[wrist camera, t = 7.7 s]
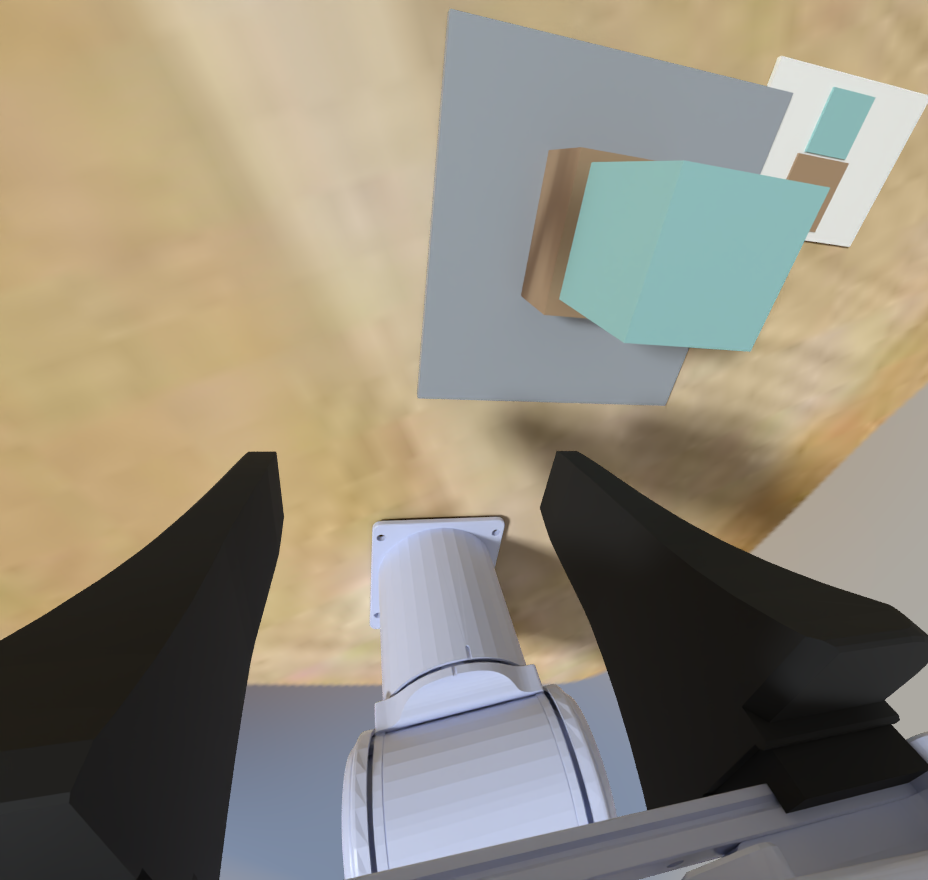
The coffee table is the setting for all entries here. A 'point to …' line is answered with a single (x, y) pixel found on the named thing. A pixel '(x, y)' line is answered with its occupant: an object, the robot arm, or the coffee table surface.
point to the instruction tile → (839, 140)
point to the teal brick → (685, 251)
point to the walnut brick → (559, 225)
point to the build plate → (518, 191)
